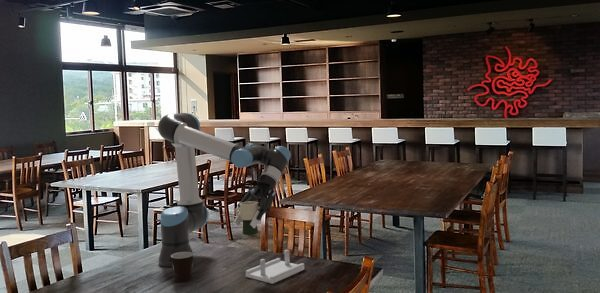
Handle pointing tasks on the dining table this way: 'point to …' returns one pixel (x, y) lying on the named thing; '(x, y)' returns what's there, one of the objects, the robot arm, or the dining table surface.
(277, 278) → the tray
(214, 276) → the dining table surface
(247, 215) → the character mug
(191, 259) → the coffee mug
